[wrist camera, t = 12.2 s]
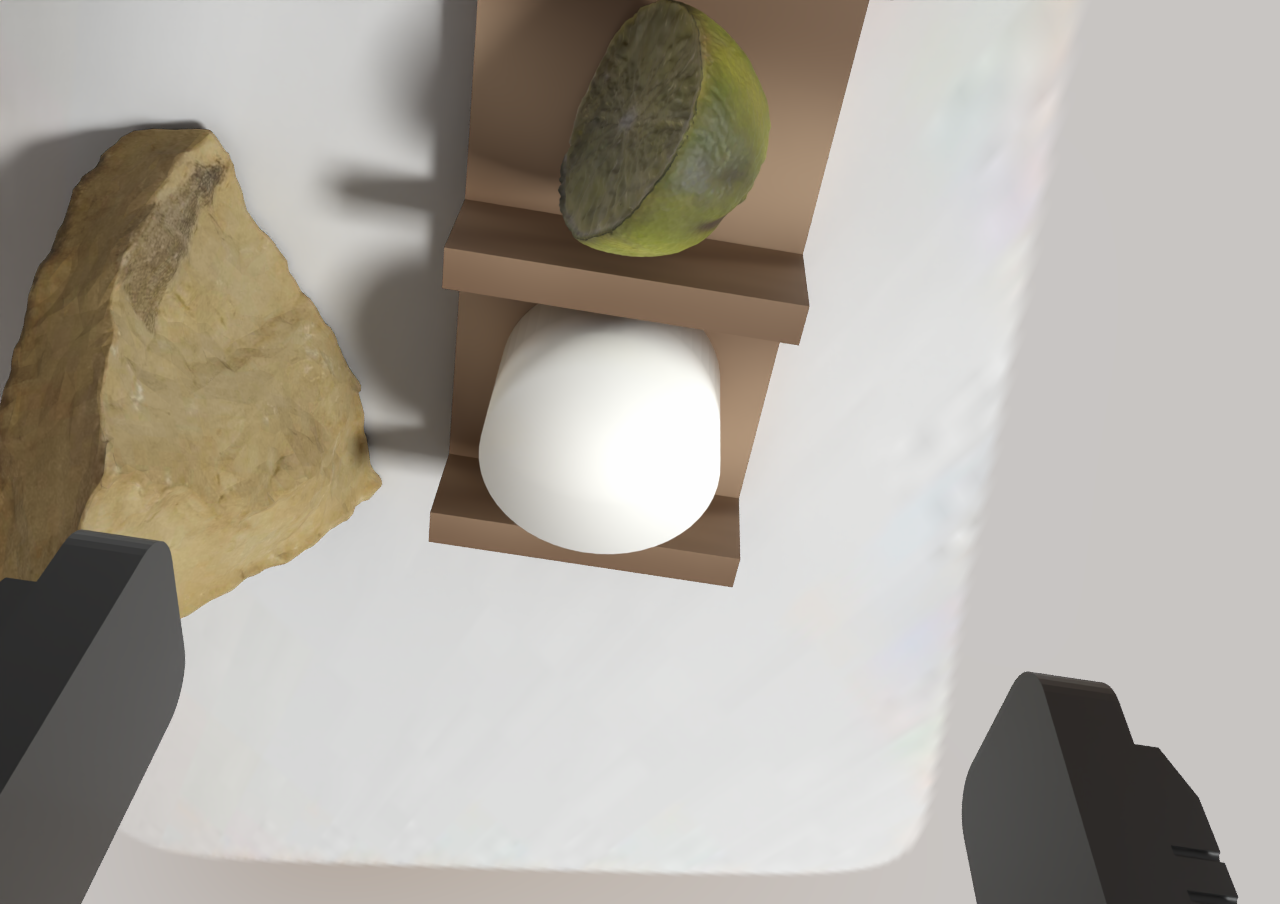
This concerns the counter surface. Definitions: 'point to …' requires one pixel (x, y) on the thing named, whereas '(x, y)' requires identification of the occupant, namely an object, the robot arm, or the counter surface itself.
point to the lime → (663, 136)
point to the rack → (625, 285)
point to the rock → (175, 381)
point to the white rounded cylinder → (603, 430)
